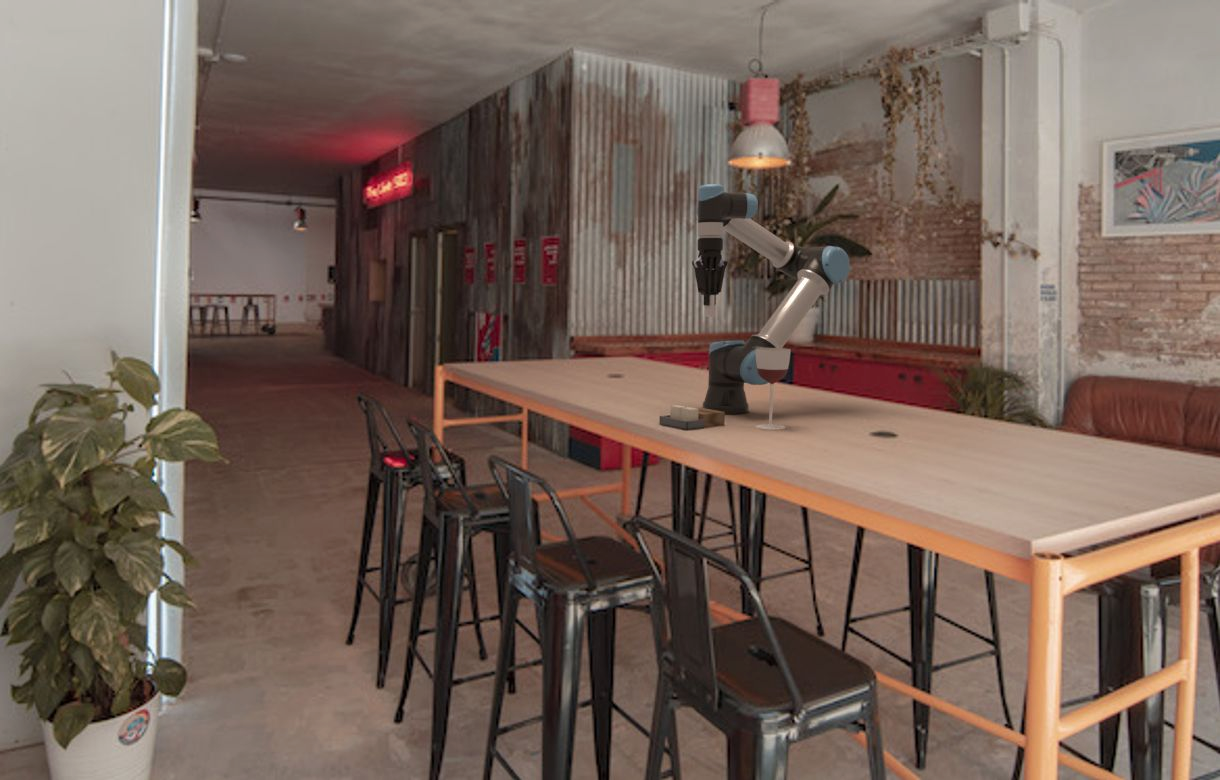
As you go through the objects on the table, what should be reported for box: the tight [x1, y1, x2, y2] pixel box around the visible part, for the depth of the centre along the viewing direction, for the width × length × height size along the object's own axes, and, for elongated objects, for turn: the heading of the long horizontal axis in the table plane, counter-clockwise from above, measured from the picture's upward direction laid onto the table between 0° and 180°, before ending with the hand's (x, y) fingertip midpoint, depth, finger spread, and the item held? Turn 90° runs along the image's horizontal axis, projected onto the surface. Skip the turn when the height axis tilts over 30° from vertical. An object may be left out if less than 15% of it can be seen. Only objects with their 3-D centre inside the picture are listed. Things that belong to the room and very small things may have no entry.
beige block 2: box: [681, 406, 699, 421], centre depth 246 cm, size 5×4×3 cm
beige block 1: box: [669, 404, 687, 420], centre depth 250 cm, size 5×4×3 cm
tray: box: [659, 414, 706, 431], centre depth 248 cm, size 7×12×3 cm, turn 37°
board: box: [695, 406, 726, 429], centre depth 252 cm, size 8×11×4 cm
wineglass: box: [755, 347, 792, 430], centre depth 247 cm, size 9×10×23 cm
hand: (709, 316), depth 256 cm, fingers closed
